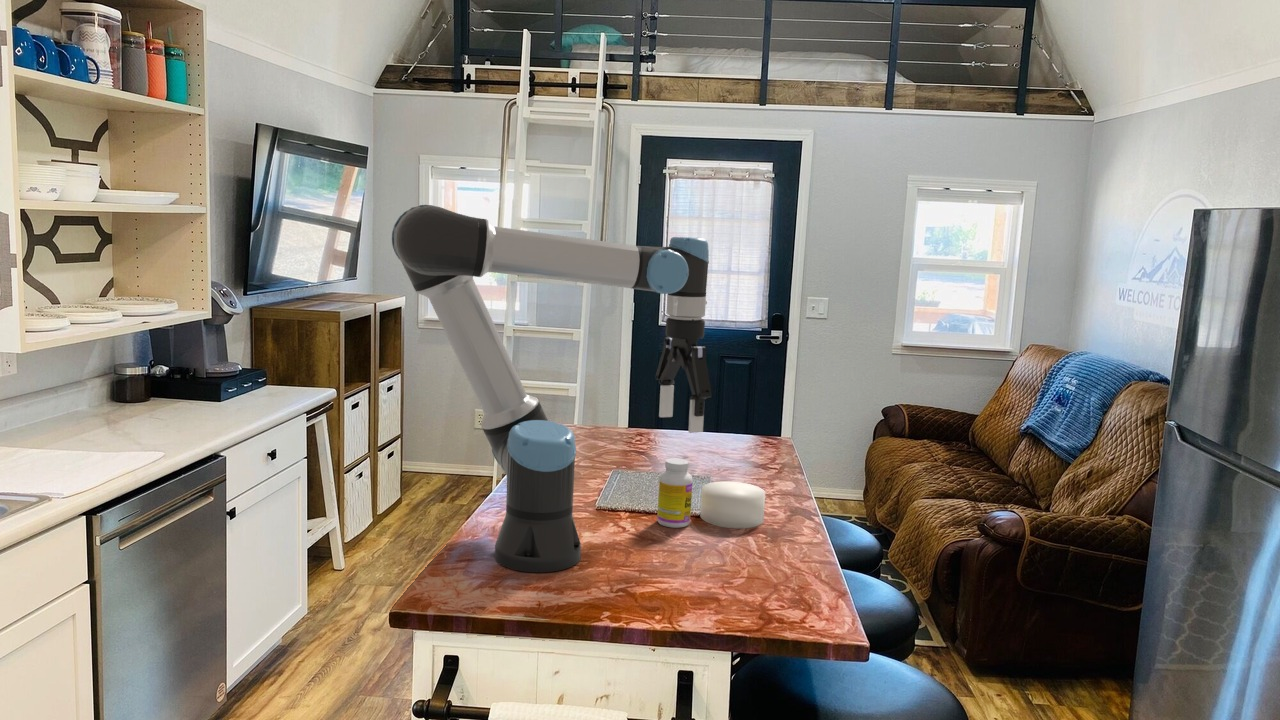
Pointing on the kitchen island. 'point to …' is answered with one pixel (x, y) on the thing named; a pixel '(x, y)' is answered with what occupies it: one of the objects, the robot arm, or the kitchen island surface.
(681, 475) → the supplement bottle
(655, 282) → the robot arm
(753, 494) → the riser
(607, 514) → the kitchen island surface
